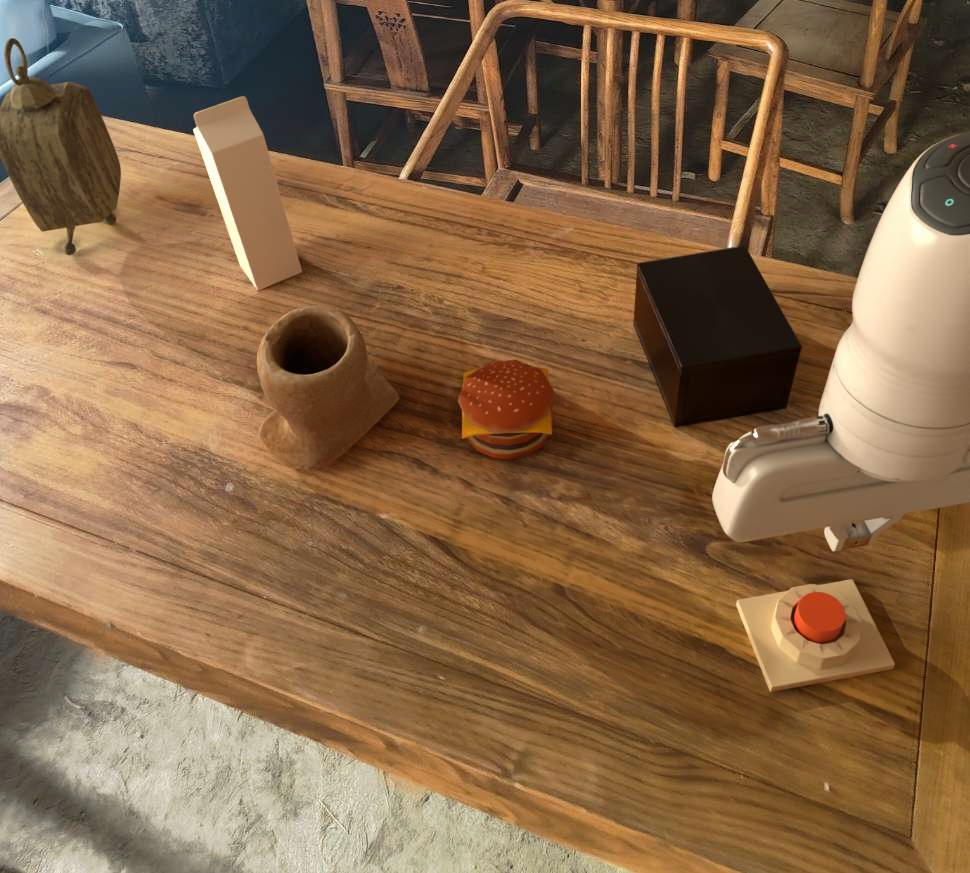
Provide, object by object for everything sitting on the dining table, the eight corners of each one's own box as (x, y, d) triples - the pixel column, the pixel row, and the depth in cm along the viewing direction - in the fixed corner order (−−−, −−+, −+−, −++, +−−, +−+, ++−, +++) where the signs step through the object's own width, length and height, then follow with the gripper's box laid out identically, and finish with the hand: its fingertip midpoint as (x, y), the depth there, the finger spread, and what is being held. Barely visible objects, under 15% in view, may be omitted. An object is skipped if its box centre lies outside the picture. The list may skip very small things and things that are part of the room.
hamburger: (559, 457, 91) (558, 412, 86) (462, 465, 92) (455, 420, 87) (552, 388, 97) (550, 342, 92) (461, 395, 98) (454, 350, 93)
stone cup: (325, 500, 90) (289, 394, 79) (247, 444, 95) (203, 337, 84) (431, 408, 97) (412, 298, 85) (353, 360, 102) (325, 251, 91)
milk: (240, 266, 115) (181, 102, 98) (284, 248, 117) (235, 83, 100) (258, 292, 111) (201, 126, 95) (304, 272, 113) (255, 106, 97)
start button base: (847, 592, 79) (857, 566, 76) (888, 677, 74) (902, 653, 71) (733, 613, 79) (739, 588, 76) (767, 700, 73) (775, 677, 70)
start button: (829, 599, 75) (834, 587, 74) (848, 638, 73) (853, 627, 71) (786, 607, 75) (790, 595, 73) (804, 646, 72) (808, 635, 71)
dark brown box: (633, 324, 103) (637, 263, 96) (734, 307, 103) (745, 245, 97) (674, 427, 93) (681, 366, 86) (786, 408, 93) (802, 346, 87)
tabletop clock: (69, 201, 127) (-19, 20, 108) (135, 190, 128) (59, 8, 109) (56, 265, 118) (-43, 80, 99) (127, 253, 118) (43, 67, 99)
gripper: (748, 476, 52) (718, 604, 62) (1096, 416, 53) (1009, 552, 63) (712, 396, 56) (689, 529, 66) (1035, 342, 57) (963, 481, 67)
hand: (847, 540), depth 65 cm, fingers closed
